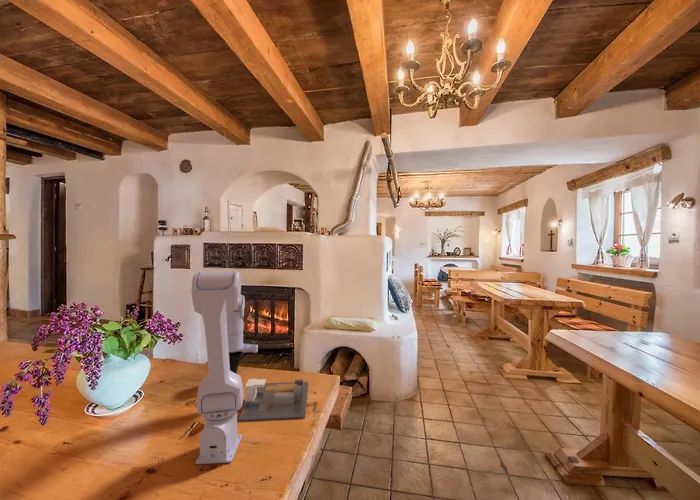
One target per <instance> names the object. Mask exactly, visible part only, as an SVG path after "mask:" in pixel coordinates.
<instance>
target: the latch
mask: <svg viewBox="0 0 700 500" xmlns="http://www.w3.org/2000/svg"><path fill="white" fill-rule="evenodd" d="M266 382H267V380H266V378H264V379H263V378H262V379H261V378H260V379H257V378H249V379H248V380H247V382H246V384H245V386H244V402H246V401H254V400H255V398H256V395H257V387H264V385H265V383H266Z"/></svg>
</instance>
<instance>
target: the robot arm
mask: <svg viewBox="0 0 700 500" xmlns="http://www.w3.org/2000/svg"><path fill="white" fill-rule="evenodd" d="M241 292H242V275H241V273H240V272H239V271H238V270H235V271H204V272H203V271H196V272H195V273H194V275H193V277H192V280H191V296H192V297H191V300H192V306H193V309H194V310H193V311H194V312H196V313H197V314H199V315H201V317H202V320H203V321H202V322H203V326H204V334H205V335H204V336H205V343H206V344H205V345H206V354H207V355H206V357H207V367H208V374H207V375H206V376H205V377H204V378H202V379H201V381H200V383H199V385H198V388H197V393H196V394H197V399H196V410H197V412H198V414H199V415H202V419H203V420H204V427H203V430H202V431H201V433H200V436H199V455H198V457H197V459H196V460H195V464H196V465H209V464H210V465H211V464H225V463H231V462H232V461H233V459H234V457H235V454H236V453H237V449H238V447H239V445H240V442H241V440H242V438H243V435H242V434H238V411H239V410H241V408H243V404H244V403H243V402H244V384H243V379H242V376H241V375H239V374H238V369H239V364H240V362H241V359H242V358H243V357H242V356H244V353H253V354H257V353H258V350H259V345H258V344H250V343H244V316H245V308H246V298H245V295H242V293H241Z"/></svg>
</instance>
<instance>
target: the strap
mask: <svg viewBox="0 0 700 500" xmlns="http://www.w3.org/2000/svg"><path fill="white" fill-rule="evenodd" d="M294 386H300V383H295V384H283V385H271V386H267V387H266V390H265V393H267V392H279V391H291V390H294Z"/></svg>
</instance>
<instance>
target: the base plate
mask: <svg viewBox="0 0 700 500" xmlns="http://www.w3.org/2000/svg"><path fill="white" fill-rule="evenodd" d="M295 383H300V386H294V390H291V391H279V392H267V393H265V390H266V387H267V386H271V385H283V384H295ZM308 393H309V381H304V380H303V379H302V378H298V379H297V378H295V380H294V381H292V382H291V381H288V382H267V383H266V382H265V385H264V387H257V395H256V398H255V400H254V401H246V402H245V401H243V402H244V403H243V407H242V409H241V411H240V413H239V415H238V421H239V422H242V421H243V422H246V421H248V422H249V421H264V420H265V421H266V420H268V421H269V420H286V419H302V418H303V419H304V418H306V410H307V404H308V403H307V402H308Z"/></svg>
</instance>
